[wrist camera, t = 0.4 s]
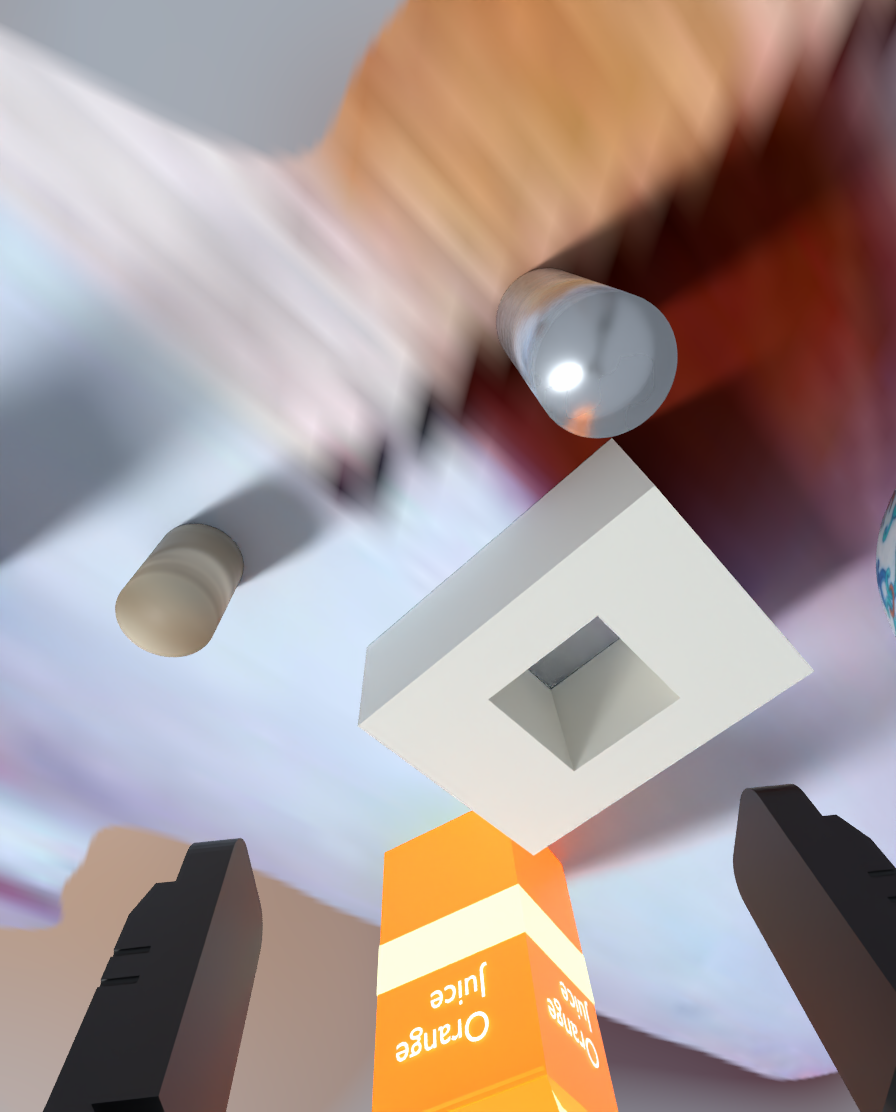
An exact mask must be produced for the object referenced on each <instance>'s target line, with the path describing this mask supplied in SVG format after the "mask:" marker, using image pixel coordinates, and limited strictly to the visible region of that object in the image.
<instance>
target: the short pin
mask: <svg viewBox="0 0 896 1112" xmlns="http://www.w3.org/2000/svg"><path fill="white" fill-rule="evenodd" d="M243 567H244V566H243V558H242V555H241V552H240V550H239V548H238V546H237V545H236V544H235V542H234V541H233V540H232V539H231V538H230V537H229V536H228V535H226V534H225V533H224V532H222V531H220V530H219V529H217V528H214V527H212V526H208V525H204V524H185V525H182V526H178V527H176V528H174V529H173V530H171V531H170V532H169V533H167V534H166V535H165V537H164V538H163V539H162V540H161V542H160V543H159V544H158V545H157V547H156V548H155V549H154V550H153V552H152V553H151V554H150V555H149V557H148V558H147V559H146V561H145V562H144V563H143V564H142V566H141V567H140V568H139V569H138V571H137V572H136V573H135V574H134V576H133V577H132V578H131V579H130V581H129V582H128V583H127V584H126V586H125V587H124V588H123V589H122V591H121V592H120V594H119V596H118V598H117V601H116V606H115V612H116V618H117V621H118V624H119V626H120V628H121V629H122V631H123V633H124V634H125V635H126V636H127V637H128V638H129V639H130V640H131V641H132V642H133V643H134V644H135V645H137V646H138V647H140V648H142V649H143V650H145V651H147V652H150V653H153V654H156V655H160V656H165V657H182V656H187V655H190V654H193V653H195V652H197V651H199V650H201V649H202V648H203V647H205V646H206V645H207V644H208V642H209V641H210V640H211V638H212V636H213V634H214V632H215V630H216V628H217V626H218V624H219V622H220V620H221V618H222V616H223V614H224V612H225V610H226V608H227V606H228V604H229V602H230V599H231V597H232V595H233V593H234V591H235V589H236V587H237V585H238V583H239V581H240V579H241V577H242V573H243Z"/></svg>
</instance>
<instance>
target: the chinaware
mask: <svg viewBox="0 0 896 1112" xmlns="http://www.w3.org/2000/svg"><path fill="white" fill-rule="evenodd" d="M876 574H877V583H878V589H879V593H880V598H881V601H882V605H883V608H884V611H885V614H886V616H887V619H888V621H889V624H890V626H891V628H892V630H893V632H894V635H895V637H896V489H895V492H894V494H893V496H892V498H891V500H890V502H889V504H888V506H887V509H886V511H885V514H884V517H883V520H882V524H881V527H880V531H879V536H878V542H877V551H876Z"/></svg>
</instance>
